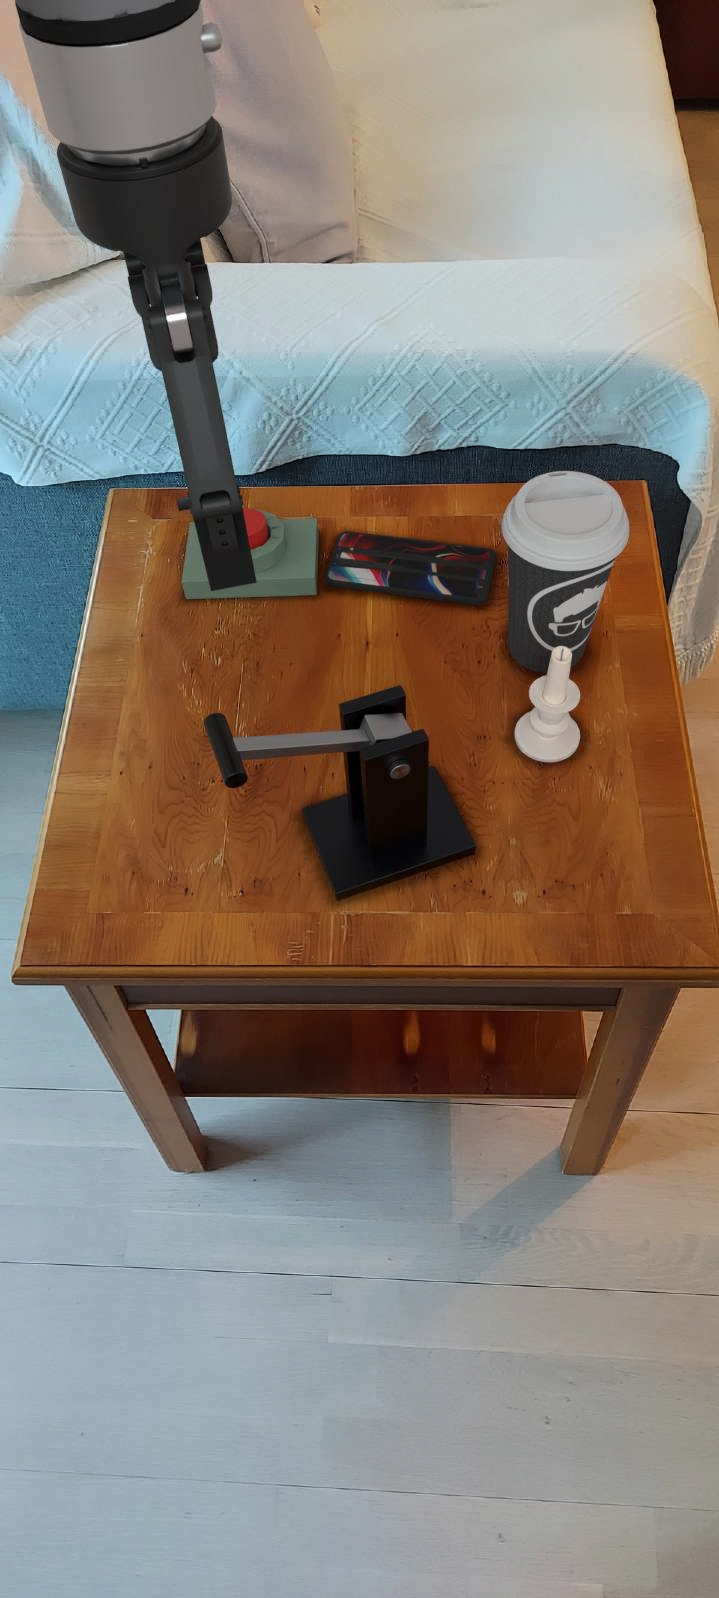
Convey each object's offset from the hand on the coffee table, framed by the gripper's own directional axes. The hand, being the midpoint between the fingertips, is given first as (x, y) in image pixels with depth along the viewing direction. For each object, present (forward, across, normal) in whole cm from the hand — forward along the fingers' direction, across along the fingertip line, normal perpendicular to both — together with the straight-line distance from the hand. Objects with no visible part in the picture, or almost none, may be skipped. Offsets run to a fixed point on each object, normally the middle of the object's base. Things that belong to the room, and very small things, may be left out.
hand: (218, 508), depth 62 cm
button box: (+24, +21, -2) cm, 31 cm away
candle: (+24, -5, -22) cm, 33 cm away
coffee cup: (+24, +4, -25) cm, 35 cm away
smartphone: (+24, +16, -16) cm, 33 cm away
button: (+20, +21, -2) cm, 29 cm away
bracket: (+24, -11, -8) cm, 27 cm away
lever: (+11, -12, -2) cm, 16 cm away
